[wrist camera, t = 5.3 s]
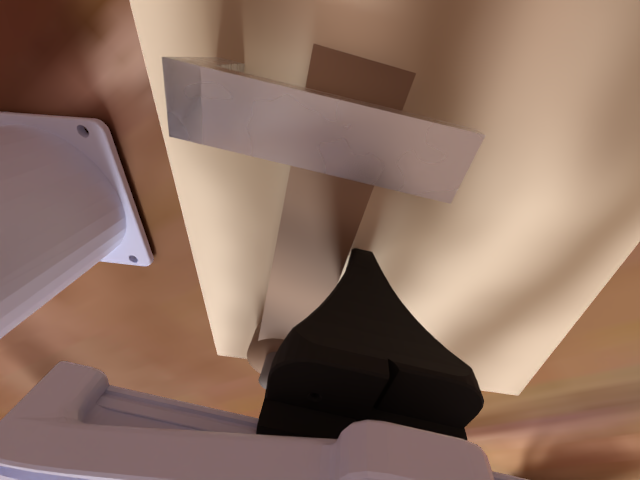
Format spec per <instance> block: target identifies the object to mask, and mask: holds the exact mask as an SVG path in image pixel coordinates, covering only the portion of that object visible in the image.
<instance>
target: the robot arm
mask: <svg viewBox="0 0 640 480" xmlns="http://www.w3.org/2000/svg"><path fill="white" fill-rule="evenodd" d="M84 127H85V128H87V130H88V132H89V134H88V133H87V132H86V131H85V129H84ZM153 260H154V258H153V254H152V252H151V249H150V246H149V243H148V240H147V237H146V234H145V231H144V228H143V225H142V223H141V220H140V217H139V214H138V211H137V208H136V205H135V202H134V199H133V196H132V194H131V191H130V188H129V185H128V182H127V179H126V176H125V173H124V170H123V167H122V165H121V162H120V159H119V156H118V153H117V150H116V147H115V144H114V141H113V138H112V135H111V133H110V130H109V128H108V126H107V125H106V124H105V123H104V122H102V121H101V120H99V119H96V118H83V117H69V116H55V115H42V114H28V113H14V112H0V339H1V338H2V337H3V336H5V335H6V334H7V333H8V332H10V331H11V330H12V329H14V328H15V327H16V326H17V325H19V324H20V323H21V322H22V321H24V320H25V319H26V318H28V317H29V316H30V315H31V314H33V313H34V312H35V311H37V310H38V309H39V308H40V307H42V306H43V305H44V304H45V303H47V302H48V301H49V300H51V299H52V298H53V297H54V296H56V295H57V294H58V293H60V292H61V291H62V290H63V289H65V288H66V287H67V286H68V285H70V284H71V283H72V282H74V281H75V280H76V279H77V278H79V277H80V276H81V275H83V274H84V273H85V272H86V271H88V270H89V269H90V268H91V267H93V266H94V265H95V264H97V263H98V262H99V261H102V262H111V263H120V264H129V265H138V266H149V265H150V264H151V263H152V262H153ZM483 404H484V399H483V396H482V394H481V391H480V387H479V384H478V381H477V379H476V377H475V374H474V372H473V370H472V368H471V367H470V366H469V365H467V364H466V363H465V362H463V361H462V360H461V359H459V358H458V357H457V356H456V355H454V354H453V353H452V352H450V351H449V350H448V349H447V348H446V347H445V346H443V345H442V344H441V343H440V342H439V341H438V340H437V339H435V338H434V337H433V336H432V335H431V334H430V333H429V332H428V331H427V330H426V329H425V328H424V327H423V326H422V325H421V324H420V323H419V322H418V321H417V320H416V318H415V317H414V316H413V315H412V314H411V313H410V311H409V310H408V309H407V308H406V307H405V305H404V304H403V303H402V302H401V300H400V299H399V297H398V296H397V295H396V293H395V292H394V290H393V289H392V287H391V285H390V284H389V282H388V280H387V279H386V277H385V275H384V273H383V271H382V270H381V268H380V266H379V264H378V262H377V260H376V258H375V256H374V254H373V252H371V251H367V250H362V249H358V248H354V249H352V251H351V254H350V258H349V261H348V264H347V267H346V271H345V273H344V275H343V276H342V278H341V279H340V281H339V283H338V284H337V285H336V287H335V288H334V290H333V291H332V292H331V293H330V295H329V296H328V297H327V298H326V299H325V300H324V301H323V303H322V304H321V305H320V306H319V307H318V308H317V309H315V310H314V311H313V312H312V313H311V314H310V315H309V316H308V317H307V318H305V319H304V320H303V321H301V322H300V323H299V324H297V325H296V326H295V327H293V328H292V329H291V331H290V332H289V334H288V335H287V336H286V338H285V339H284V341H283V342H282V344H281V345H280V347H279V348H278V350H277V352H276V354H275V356H274V358H273V361H272V364H271V367H270V371H269V374H268V379H267V386H266V393H265V399H264V402H263V406H262V409H261V413H260V416H259V419H258V418H254V417H249V416H245V415H240V414H236V413H231V412H227V411H223V410H218V409H214V408H209V407H205V406H200V405H196V404H192V403H187V402H183V401H178V400H174V399H169V398H165V397H160V396H156V395H152V394H147V393H143V392H138V391H134V390H129V389H125V388H121V387H116V386H112V385H109V383H108V378H107V376H106V375H105V373H104V372H102V371H101V370H99V369H96V368H93V367H89V366H84V365H80V364H75V363H71V362H66V361H60V362H58V363H57V364H56V365H55V366H54V367H53V368H52V369H51V370H50V371H49V372H48V373H47V374H46V375H45V376H44V377H43V378H42V379H41V380H40V381H39V382H38V383H37V384H36V385H35V386H34V387H33V388H32V389H31V390H30V392H29V393H28V394H27V395H26V396H25V397H24V398H23V399H22V400H21V401H20V402H19V403H18V404H17V405H16V406H15V407H14V408H13V409H12V410H11V411H10V412H9V413H8V414H7V415H6V416H5V417H4V418H3V419H2V420H1V421H0V480H529V479H524V478H520V477H515V476H511V475H506V474H502V473H498V472H493V471H492V470H491V467H490V464H489V461H488V458H487V455H486V454H485V453H484V451H483V450H482V449H481V447H479V446H478V445H476V444H474V443H472V442H469V441H467V436H466V432H465V429H464V427H465V426H466V425H467V424H468V423H469V422H470V421H471V420H472V419H474V418H475V417H476V416H477V415H478V413H479V412H480V411H481V409H482V408H483Z"/></svg>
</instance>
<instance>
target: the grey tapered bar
mask: <svg viewBox="0 0 640 480" xmlns="http://www.w3.org/2000/svg"><path fill="white" fill-rule="evenodd" d="M415 75H416V73H414V72H410V71H407V70H403V69H400V68H397V67H393V66H390V65H386V64H383V63H379V62H376V61H372V60H369V59H366V58H362V57H359V56H355V55H352V54H348V53H345V52H342V51H338V50H335V49H331V48H328V47H324V46H321V45H317V44H313V49H312V54H311V60H310V65H309V70H308V76H307V81H306V86H305V88H309V89H314V90H318V91H322V92H326V93H330V94H334V95H338V96H342V97H347V98H351V99H355V100H359V101H363V102H367V103H371V104H375V105H380V106H384V107H388V108H392V109H396V110H400V111H402V110H403V107H404V105H405V102H406V99H407V97H408V94H409V91H410V89H411V86H412V83H413V81H414V78H415ZM373 188H374V185H370V184H366V183H361V182H357V181H353V180H349V179H345V178H340V177H336V176H332V175H328V174H324V173H320V172H315V171H311V170H307V169H303V168H299V167H294V166H291V167H290V172H289V178H288V183H287V188H286V194H285V199H284V204H283V210H282V215H281V220H280V226H279V231H278V237H277V242H276V247H275V253H274V258H273V263H272V269H271V274H270V279H269V285H268V290H267V296H266V301H265V306H264V312H263V317H262V322H261V323H260V324H259V325H258V326H257V327H256V330H255V332H254V335H253V337H252V340H251V343H250V345H249V348H248V351H247V359H248V362H249V364H250V365H251V366H252V367H253V368H254V369H255V370H256V371H257V372H259V373H260V377H259V383H260V385H261V386H262V387H263V388H265V389H266V386H267V379H268V374H269V371H270V367H271V364H272V361H273V358H274V356H275V354H276V352H277V350H278V348H279V347H280V345H281V344H282V342H283V341H284V339H285V338H286V336H287V335H288V334H289V332H290V331H291V329H292V328H293V327H295V326H296V325H297V324H299V323H300V322H301V321H303V320H304V319H305V318H307V317H308V316H309V315H310V314H311V313H312V312H313V311H314V310H315V309H317V308H318V307H319V306H320V305H321V304H322V303H323V301H324V300H325V299H326V298H327V297H328V296H329V295H330V293H331V292H332V291H333V290H334V288H335V287H336V285H337V284H338V282H339V279H340V276H341V274H342V271H343V268H344V266H345V263H346V260H347V258H348V255H349V252H350V249H351V247H352V244H353V241H354V239H355V236H356V233H357V231H358V228H359V225H360V223H361V220H362V217H363V215H364V212H365V209H366V207H367V204H368V201H369V199H370V196H371V193H372V191H373Z"/></svg>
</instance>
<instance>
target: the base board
mask: <svg viewBox="0 0 640 480" xmlns="http://www.w3.org/2000/svg"><path fill="white" fill-rule="evenodd" d="M129 1H130V5H131V9H132V13H133V17H134V21H135V25H136V29H137V33H138V37H139V41H140V45H141V49H142V53H143V57H144V61H145V65H146V69H147V73H148V77H149V81H150V85H151V89H152V93H153V97H154V101H155V105H156V109H157V113H158V117H159V121H160V125H161V129H162V133H163V137H164V141H165V145H166V149H167V153H168V157H169V161H170V165H171V169H172V173H173V177H174V181H175V185H176V189H177V193H178V197H179V201H180V205H181V209H182V213H183V218H184V222H185V226H186V230H187V234H188V238H189V242H190V246H191V250H192V254H193V258H194V262H195V266H196V270H197V274H198V278H199V282H200V286H201V290H202V294H203V298H204V302H205V306H206V310H207V314H208V318H209V322H210V326H211V330H212V334H213V338H214V342H215V346H216V350H217V354H218V355H222V356H230V357H237V358H245V359H247V351H248V348H249V345H250V343H251V340H252V337H253V335H254V332H255V330H256V327H257V326H258V325H259V324H260V323H261V322H262V317H263V312H264V306H265V301H266V296H267V290H268V285H269V279H270V274H271V269H272V263H273V258H274V253H275V247H276V242H277V237H278V231H279V226H280V220H281V215H282V210H283V204H284V199H285V194H286V188H287V183H288V178H289V172H290V167H291V166H290V165H286V164H282V163H278V162H273V161H269V160H265V159H261V158H257V157H253V156H248V155H244V154H240V153H236V152H232V151H227V150H223V149H219V148H215V147H211V146H206V145H202V144H198V143H194V142H190V141H186V140H181V139H177V138H173V137H169V129H168V118H167V108H166V97H165V86H164V76H163V65H162V57H219V58H223V59H227V60H231V61H235V62H239V63H244V73H247V74H252V75H256V76H260V77H264V78H268V79H272V80H276V81H280V82H285V83H289V84H293V85H297V86H301V87H305V86H306V81H307V76H308V70H309V65H310V60H311V54H312V49H313V44H317V45H321V46H324V47H328V48H331V49H335V50H338V51H342V52H345V53H348V54H352V55H355V56H359V57H362V58H366V59H369V60H372V61H376V62H379V63H383V64H386V65H390V66H393V67H397V68H400V69H403V70H407V71H410V72H414V73H416V75H415V78H414V81H413V83H412V86H411V89H410V91H409V94H408V97H407V99H406V102H405V105H404V107H403V110H402V111H404V112H408V113H413V114H417V115H421V116H425V117H429V118H433V119H437V120H442V121H446V122H450V123H454V124H458V125H462V126H466V127H470V128H475V129H477V130H478V131H480V132H481V133H483V134H485V135H486V136H485V138H484V140H483V142H482V144H481V146H480V148H479V149H478V151H477V153H476V155H475V157H474V159H473V161H472V163H471V165H470V167H469V169H468V171H467V173H466V175H465V177H464V179H463V181H462V183H461V185H460V187H459V189H458V190H457V192H456V194H455V196H454V198H453V200H452V202H451V204H449V203H445V202H441V201H437V200H433V199H428V198H424V197H420V196H416V195H412V194H407V193H403V192H399V191H395V190H391V189H387V188H382V187H378V186H374V188H373V191H372V193H371V196H370V199H369V201H368V204H367V207H366V209H365V212H364V215H363V217H362V220H361V223H360V225H359V228H358V231H357V233H356V236H355V239H354V241H353V244H352V247H351V249H350V252H349V255H348V258H347V260H346V263H345V266H344V268H343V271H342V274H341V276H340V279H341V278H342V276H343V275H344V273H345V271H346V267H347V264H348V261H349V258H350V254H351V251H352V249H354V248H358V249H362V250H367V251H371V252H373V254H374V256H375V258H376V260H377V262H378V264H379V266H380V268H381V270H382V271H383V273H384V275H385V277H386V279H387V280H388V282H389V284H390V285H391V287H392V289H393V290H394V292H395V293H396V295H397V296H398V297H399V299H400V300H401V302H402V303H403V304H404V305H405V307H406V308H407V309H408V310H409V311H410V313H411V314H412V315H413V316H414V317H415V318H416V320H417V321H418V322H419V323H420V324H421V325H422V326H423V327H424V328H425V329H426V330H427V331H428V332H429V333H430V334H431V335H432V336H433V337H434V338H435V339H437V340H438V341H439V342H440V343H441V344H442V345H443V346H445V347H446V348H447V349H448V350H449V351H450V352H452V353H453V354H454V355H456V356H457V357H458V358H459V359H461V360H462V361H463V362H465V363H466V364H467V365H469V366H470V367H471V368H472V370H473V372H474V374H475V377H476V379H477V381H478V384H479V387H480V390H482V391H489V392H496V393H504V394H511V395H519V394H520V393H521V391H522V390H523V389H524V387H525V386H526V385H527V384H528V382H529V381H530V380H531V379H532V377H533V376H534V375H535V374H536V372H537V371H538V370H539V368H540V367H541V366H542V365H543V363H544V362H545V361H546V360H547V358H548V357H549V356H550V355H551V353H552V352H553V351H554V349H555V348H556V347H557V346H558V344H559V343H560V342H561V341H562V339H563V338H564V337H565V335H566V334H567V333H568V332H569V330H570V329H571V328H572V327H573V325H574V324H575V323H576V322H577V320H578V319H579V318H580V316H581V315H582V314H583V313H584V311H585V310H586V309H587V308H588V306H589V305H590V304H591V303H592V301H593V300H594V299H595V297H596V296H597V295H598V294H599V292H600V291H601V290H602V289H603V287H604V286H605V285H606V283H607V282H608V281H609V280H610V278H611V277H612V276H613V275H614V273H615V272H616V271H617V270H618V268H619V267H620V266H621V264H622V263H623V262H624V261H625V259H626V258H627V257H628V256H629V254H630V253H631V252H632V251H633V249H634V248H635V247H636V245H637V244H638V243H639V242H640V0H129ZM340 279H339V281H340ZM338 283H339V282H338Z"/></svg>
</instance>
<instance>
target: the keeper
mask: <svg viewBox="0 0 640 480" xmlns="http://www.w3.org/2000/svg"><path fill="white" fill-rule="evenodd" d="M162 65H163V76H164V86H165V97H166V108H167V118H168V129H169V137H173V138H177V139H181V140H186V141H190V142H194V143H198V144H202V145H206V146H211V147H215V148H219V149H223V150H227V151H232V152H236V153H240V154H244V155H248V156H253V157H257V158H261V159H265V160H269V161H273V162H278V163H282V164H286V165H290V166H294V167H299V168H303V169H307V170H311V171H315V172H320V173H324V174H328V175H332V176H336V177H340V178H345V179H349V180H353V181H357V182H361V183H366V184H370V185H374V186H378V187H382V188H387V189H391V190H395V191H399V192H403V193H407V194H412V195H416V196H420V197H424V198H428V199H433V200H437V201H441V202H445V203H449V204H451V202H452V200H453V198H454V196H455V194H456V192H457V190H458V189H459V187H460V185H461V183H462V181H463V179H464V177H465V175H466V173H467V171H468V169H469V167H470V165H471V163H472V161H473V159H474V157H475V155H476V153H477V151H478V149H479V148H480V146H481V144H482V142H483V140H484V138H485V136H486V135H485V134H483V133H481V132H480V131H478V130H477V129H475V128H470V127H466V126H462V125H458V124H454V123H450V122H446V121H442V120H437V119H433V118H429V117H425V116H421V115H417V114H413V113H408V112H404V111H400V110H396V109H392V108H388V107H384V106H380V105H375V104H371V103H367V102H363V101H359V100H355V99H351V98H347V97H342V96H338V95H334V94H330V93H326V92H322V91H318V90H314V89H309V88H305V87H301V86H297V85H293V84H289V83H285V82H280V81H276V80H272V79H268V78H264V77H260V76H256V75H252V74H247V73H244V63H239V62H235V61H231V60H227V59H223V58H219V57H162Z"/></svg>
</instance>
